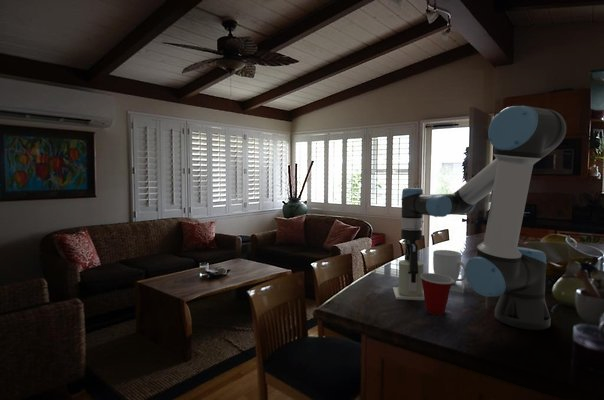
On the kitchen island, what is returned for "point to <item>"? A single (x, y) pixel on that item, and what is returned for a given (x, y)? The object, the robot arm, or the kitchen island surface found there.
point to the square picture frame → (401, 296)
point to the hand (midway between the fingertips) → (410, 286)
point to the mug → (448, 264)
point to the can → (404, 279)
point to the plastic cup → (436, 292)
